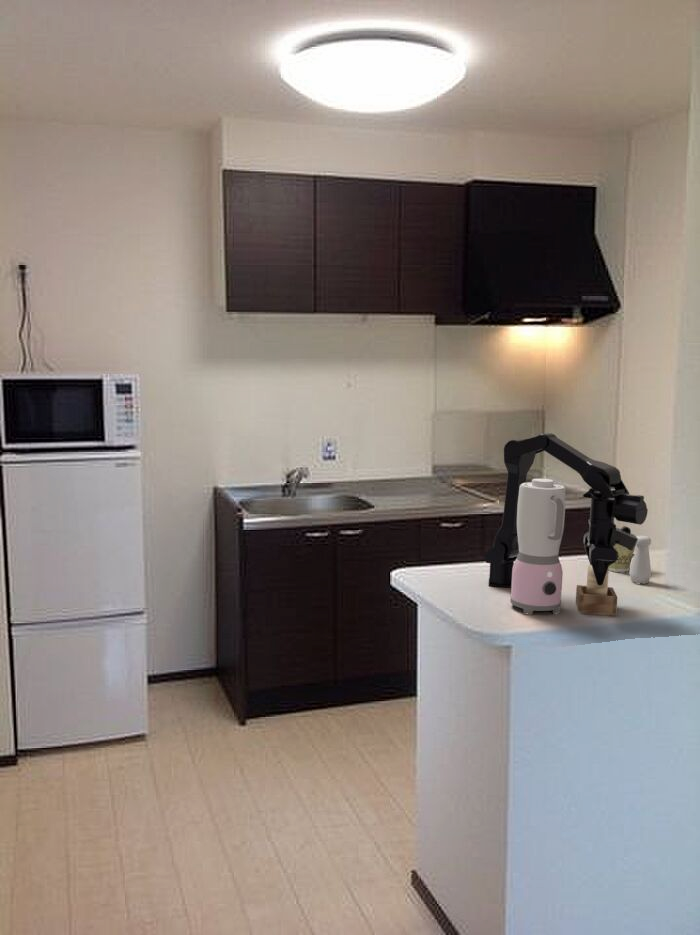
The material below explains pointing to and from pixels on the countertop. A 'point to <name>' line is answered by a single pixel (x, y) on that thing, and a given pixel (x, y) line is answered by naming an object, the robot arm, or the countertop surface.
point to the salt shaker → (641, 561)
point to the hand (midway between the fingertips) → (597, 580)
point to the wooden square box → (596, 602)
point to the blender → (539, 547)
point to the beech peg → (592, 583)
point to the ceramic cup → (622, 559)
